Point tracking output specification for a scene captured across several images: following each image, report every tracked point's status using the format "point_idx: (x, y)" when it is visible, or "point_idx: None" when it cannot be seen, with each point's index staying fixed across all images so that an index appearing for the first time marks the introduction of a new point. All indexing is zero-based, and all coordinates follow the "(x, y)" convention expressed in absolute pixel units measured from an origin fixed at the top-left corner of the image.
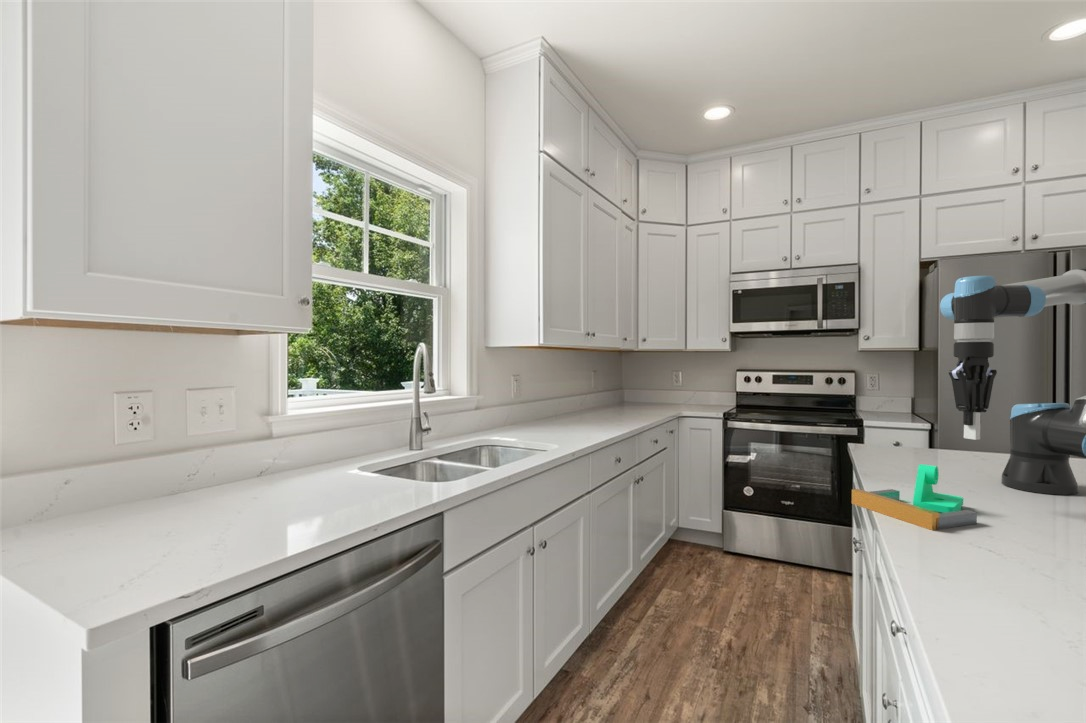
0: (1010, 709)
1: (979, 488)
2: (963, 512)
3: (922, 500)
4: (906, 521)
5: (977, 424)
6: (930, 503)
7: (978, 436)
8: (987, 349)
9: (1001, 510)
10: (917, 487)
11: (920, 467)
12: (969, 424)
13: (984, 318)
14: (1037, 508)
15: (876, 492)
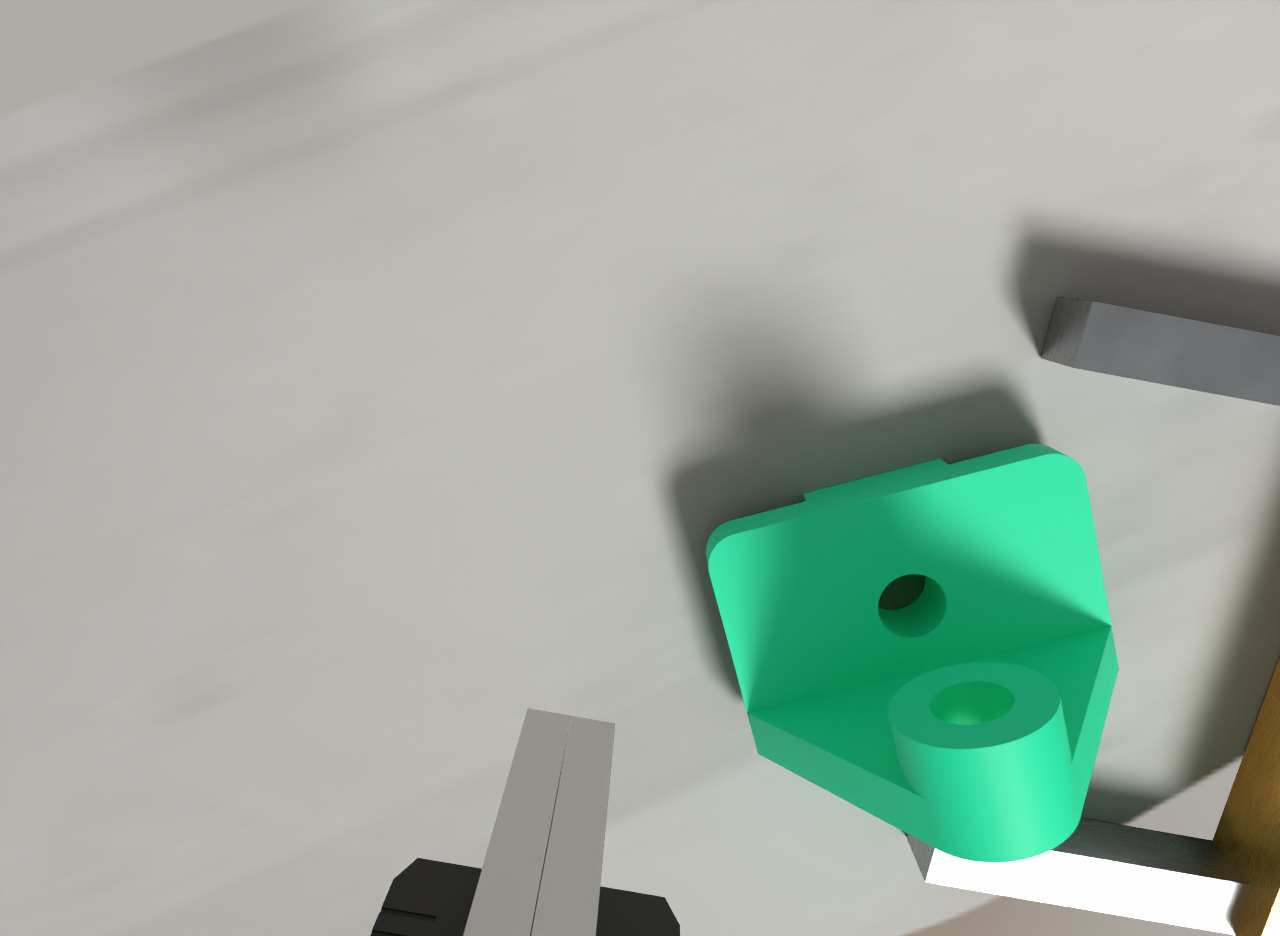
0: None
1: (56, 701)
2: (1170, 347)
3: (1062, 638)
4: None
5: (561, 851)
6: (1092, 576)
7: (554, 736)
8: None
9: (551, 364)
10: (1099, 711)
11: (1068, 821)
12: (671, 915)
13: None
14: (263, 264)
15: (1116, 885)
